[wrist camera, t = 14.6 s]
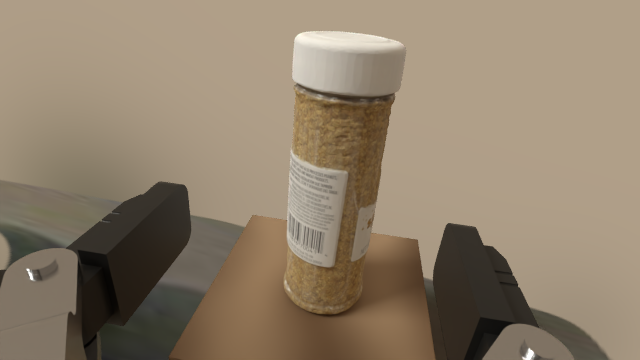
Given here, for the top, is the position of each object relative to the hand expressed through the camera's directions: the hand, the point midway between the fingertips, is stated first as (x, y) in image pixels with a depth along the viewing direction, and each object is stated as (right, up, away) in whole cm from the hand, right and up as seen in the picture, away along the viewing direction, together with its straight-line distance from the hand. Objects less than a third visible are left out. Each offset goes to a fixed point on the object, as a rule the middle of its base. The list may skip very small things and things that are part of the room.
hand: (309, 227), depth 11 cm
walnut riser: (0, -11, +13) cm, 17 cm away
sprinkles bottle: (0, -5, +10) cm, 11 cm away
